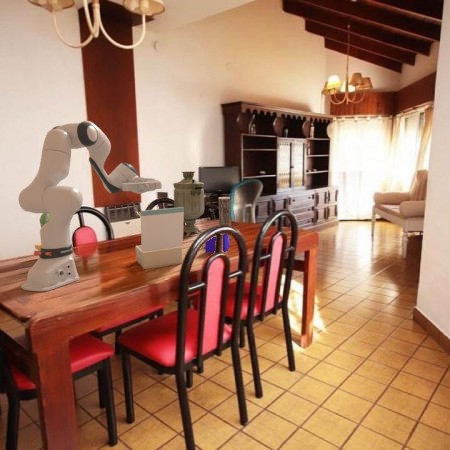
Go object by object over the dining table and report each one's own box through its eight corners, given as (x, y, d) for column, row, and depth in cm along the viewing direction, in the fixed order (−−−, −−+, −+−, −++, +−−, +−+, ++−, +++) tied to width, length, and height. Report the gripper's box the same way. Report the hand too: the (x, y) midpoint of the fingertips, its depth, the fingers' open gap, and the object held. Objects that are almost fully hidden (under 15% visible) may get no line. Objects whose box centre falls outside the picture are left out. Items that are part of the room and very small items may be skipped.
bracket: (225, 254, 185) (224, 231, 183) (205, 252, 189) (204, 230, 187) (236, 245, 201) (236, 224, 199) (218, 244, 205) (217, 224, 203)
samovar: (163, 230, 249) (159, 172, 241) (200, 227, 256) (197, 170, 249) (170, 239, 221) (166, 173, 213) (211, 235, 228) (209, 171, 221)
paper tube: (231, 237, 221) (230, 196, 217) (230, 240, 214) (229, 198, 210) (220, 237, 222) (219, 197, 217) (219, 240, 215) (217, 198, 211)
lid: (182, 245, 169) (182, 246, 168) (141, 250, 161) (141, 251, 160) (183, 206, 162) (184, 207, 161) (140, 210, 154) (141, 211, 153)
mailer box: (182, 263, 170) (181, 247, 169) (144, 269, 162) (143, 252, 161) (172, 256, 183) (171, 241, 182) (136, 261, 176) (135, 245, 174)
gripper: (118, 180, 189) (123, 181, 177) (156, 178, 198) (164, 179, 185) (119, 192, 190) (124, 194, 178) (157, 189, 199) (165, 191, 186)
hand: (145, 186), depth 182 cm, fingers closed
